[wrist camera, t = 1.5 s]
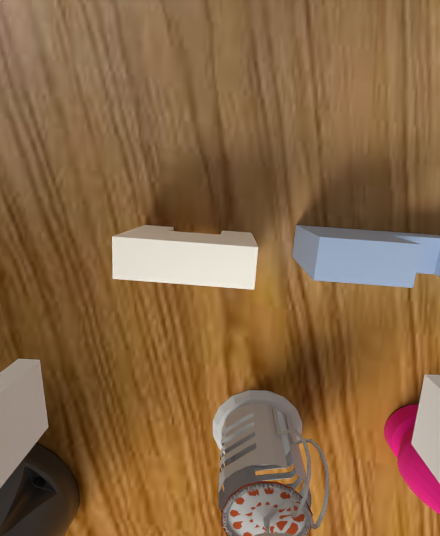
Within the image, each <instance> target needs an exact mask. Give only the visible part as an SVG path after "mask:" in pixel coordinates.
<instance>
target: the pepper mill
mask: <svg viewBox="0 0 440 536" xmlns="http://www.w3.org/2000/svg"><path fill="white" fill-rule="evenodd" d="M418 407H419V404H413V405H408V406H405V407H402V408H401V409H399V410H397V411H395V412H394V413H393V414H392V415H391V416H390V418H389V419H388V421H387V423H386V426H385V432H384V433H385V439H386V441H387V443H388V444H389V446H390V448H391V449H392V451H393V452H394V454H395V455H396V457H397V458H398V467H399V471H400V473H401V475H402V477H403V479H404V480H405V482H406V483H407V485H408V486H409V487H410V489H411V490H412V491H413V492H414V493H415V494H416V495H417V496H418V497H419V498H420V499H421V500H422V501H423V502H424V503H425V504H426V505H428V506H429V507H430V508H432V509H433V510H434V511H436V512H437V513H438V514H440V483H439V482H438V481H437V479H436V478H435V476H434V475H433V474H432V472H431V471H430V469H429V468H428V467H427V465H426V464H425V462H424V461H423V460H422V458H421V457H420V455H419V454H418V452H417V451H416V450H415V448H414V447H413V445H412V444H411V443H412V437H413V432H414V427H415V422H416V417H417V412H418Z"/></svg>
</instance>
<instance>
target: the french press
mask: <svg viewBox="0 0 440 536" xmlns="http://www.w3.org/2000/svg"><path fill="white" fill-rule="evenodd" d="M213 437H214V439H215V441H216V443H217V445H218V447H219V449H220V450H221V451H220V466H221V467H222V471H221V469H220V474H219V509H220V510H221V525H222V527H223V529H224V531H225V532H226V534H227V536H307V534H308V532H309V531H310V529H311V527H312V528H313V529H316V528H318V527H319V526H320V523H321V521H322V519H323V516H324V514H325V512H326V508H327V502H328V495H329V473H328V466H327V463H326V460H325V457H324V454H323V451H322V450H321V448H320V447H319V445H318V444H317V443H316V442H314V441H313V440H312V439H304V438H303V436H302V421H301V418H300V416H299V413H298V411H297V409H296V408H295V407H294V406H293V405H292V404H291V403H290V402H289V401H288V400H287V399H286V398H285V397H283V396H280V395H278V394H275V393H273V392H270V391H267V390H248V391H245V392H242V393H239V394H236V395H233V396H231V397H230V398H229V399H228V400H227V401H226V402H224V403H223V404H222V405H221V406H220V407H219V409H218V411H217V413H216V415H215V417H214V419H213ZM306 442H310V443H312V444H313V445H314V446H315V447H316V448H317V449H318V452H319V454H320V457H321V459H322V462H323V464H324V467H325V477H326V486H325V498H324V503H323V509H322V511H321V514H320V516H319V518H318V520H317V522H316V524H314V522H313V519H312V512H311V510H310V507H311V493H310V489H309V483H310V477H311V461H310V454H309V450H308V447H307V443H306ZM300 443H303V445H304V448H305V452H306V456H307V477H306V473H305V469H304V465H303V461H302V457H301V454H300V450H299V446H298V444H300ZM223 452H224V453H225V455H224V454H223ZM221 455H222V459H221ZM223 462H225V467H224V465H223ZM293 463H294V469H293V470H292V471H291V472H287V473H275V474H265V475H257V476H255V471H260V470H268V469H279V468H287V469H288V467H290V466H291V465H292V464H293ZM295 474H297V475H298V476H299V478H298V479H297V480H296V481H295V482H294V483H292V484H281V483H278V482H270V481H265V480H279V479H288V478H293V477H294V476H295ZM302 480H303V481H304V482H303V488H302V490H301V491H300V492H299V493H297V492H296V491H295V489H296V488H297V487H298V486H299V485H300V484H301V481H302ZM222 485H224V492H223V489H222Z"/></svg>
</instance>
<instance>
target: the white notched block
mask: <svg viewBox="0 0 440 536" xmlns="http://www.w3.org/2000/svg"><path fill="white" fill-rule="evenodd" d="M257 255H258V246H257V243H256V241H255V239H254V237H253V235H252V233H250V232H236V231H222V232H221V235H218V234H204V233H190V232H177V231H174V227H167V226H153V225H143V226H140V227H137V228H134V229H132V230H129V231H126V232H123V233H121V234H118V235H115V236H112V265H113V279H123V280H136V281H149V282H162V283H175V284H188V285H201V286H214V287H227V288H240V289H253V290H254V286H255V276H256V265H257Z"/></svg>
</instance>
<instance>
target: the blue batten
mask: <svg viewBox="0 0 440 536" xmlns="http://www.w3.org/2000/svg"><path fill="white" fill-rule="evenodd" d="M292 257H293V258H294V259H295V261H296V262H297V263H298V264H299V265H300V266H301V267H302V268H303V269H304V270H305V271H306V273H307V274H308V275H309V276H310V277H311V278H312V279H313V280H316V281H330V282H343V283H356V284H369V285H383V286H396V287H409V288H413V285H414V281H415V277H416V273H425V274H435V275H437V276H440V235H431V234H417V233H403V232H389V231H375V230H361V229H347V228H333V227H319V226H305V225H296V231H295V239H294V247H293V255H292Z"/></svg>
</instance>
